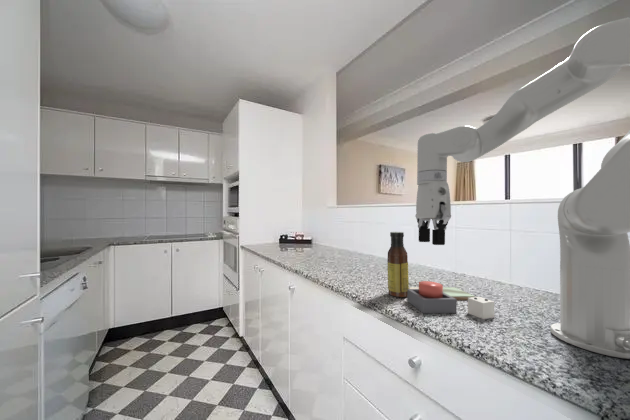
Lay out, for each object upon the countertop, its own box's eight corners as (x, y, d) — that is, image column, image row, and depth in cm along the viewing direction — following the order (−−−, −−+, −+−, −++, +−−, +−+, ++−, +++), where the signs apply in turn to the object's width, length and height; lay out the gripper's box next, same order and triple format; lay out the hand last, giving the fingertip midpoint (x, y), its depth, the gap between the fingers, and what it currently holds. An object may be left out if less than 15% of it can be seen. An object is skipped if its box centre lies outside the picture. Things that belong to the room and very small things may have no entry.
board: (477, 299, 74) (477, 296, 74) (421, 300, 73) (421, 296, 73) (455, 289, 84) (455, 287, 84) (406, 290, 82) (406, 287, 83)
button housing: (456, 312, 63) (456, 299, 64) (423, 313, 63) (423, 299, 63) (436, 300, 72) (436, 288, 72) (407, 301, 72) (407, 289, 72)
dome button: (447, 298, 65) (447, 287, 65) (425, 298, 64) (426, 287, 64) (434, 291, 71) (434, 281, 71) (414, 291, 70) (414, 281, 70)
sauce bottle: (405, 292, 80) (406, 231, 80) (411, 298, 74) (412, 233, 74) (385, 291, 81) (386, 231, 81) (389, 297, 74) (389, 232, 75)
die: (494, 317, 61) (494, 300, 61) (482, 319, 60) (483, 301, 60) (478, 311, 65) (478, 295, 65) (467, 313, 64) (467, 296, 64)
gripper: (465, 174, 60) (465, 247, 60) (427, 183, 77) (427, 240, 77) (436, 173, 59) (436, 247, 59) (404, 182, 77) (404, 240, 76)
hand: (431, 242), depth 68 cm, fingers open, 6 cm apart
